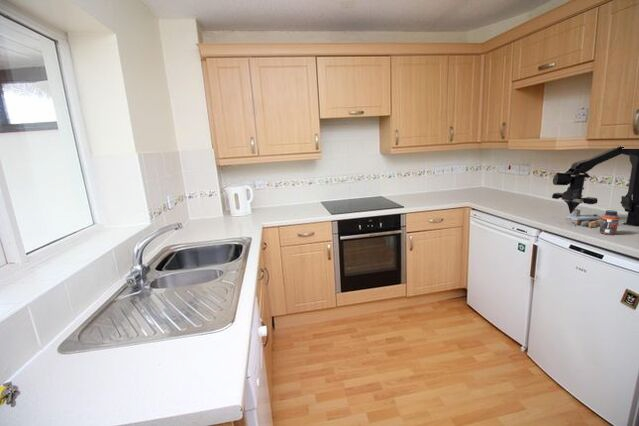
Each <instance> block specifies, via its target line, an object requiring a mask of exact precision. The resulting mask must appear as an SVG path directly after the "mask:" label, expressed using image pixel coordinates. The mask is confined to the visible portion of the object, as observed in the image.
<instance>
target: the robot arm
mask: <svg viewBox="0 0 639 426" xmlns="http://www.w3.org/2000/svg"><path fill="white" fill-rule="evenodd" d="M622 148H624V147H621V146H620V147H617V148H615V147H613V148H611V149H608V150H606V151H604V152H602V153H600V154H599V153H598V154H597V155H595V156H593V157H590V158H587V159H586V158H585V159H582V160H579V161H575V162H574V163H572V164H571V167H570V168H569V169H568V170H566V171H565V172H555V175H554V176H553V178H552V184H553V185H554V186H568V185H569V186H568V187H567V189H566V191H564V192H554V193H552V194H551V199H555V200H559V199H561V200H563V202H565V203H566V204H567V206H568V210H569V214H573V212H574V210H576V209H577V207H578V206H579V205H580V204H587V205H595V204H598V198H597V197H592V196H587V197H583V190H585V187H584V185H585V180H586V179H585V178H587V179H588V178H591V176H590V175H589V174H588V172H590V171H591V170H592V169H594V167H596V166H597V165H600V164H601V163H604V162H607V161H609V160H610V159H613V158H616V157H617V156H620V155H624V156H628V157H629V161H630V164H631V170H630V177H629V183H628V188H627V190H628V191H627V194H626V195H622V196H620V197H621V201H620V202H619V204H621V207H622V208H623V209H624V212H627V216H626V222H623V223H622V224H623V225H627V226H633V227H639V149H622Z"/></svg>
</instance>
